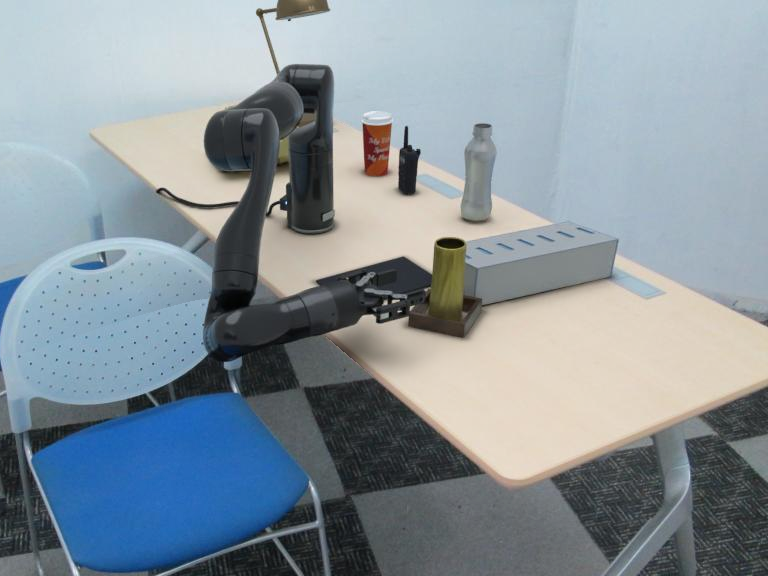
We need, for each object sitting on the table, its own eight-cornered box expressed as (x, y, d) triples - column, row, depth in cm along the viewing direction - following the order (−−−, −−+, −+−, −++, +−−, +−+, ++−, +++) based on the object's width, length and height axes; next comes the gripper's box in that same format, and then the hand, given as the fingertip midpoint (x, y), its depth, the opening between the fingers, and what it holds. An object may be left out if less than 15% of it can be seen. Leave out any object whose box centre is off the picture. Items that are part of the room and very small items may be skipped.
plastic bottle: (490, 225, 182) (500, 131, 171) (458, 223, 184) (465, 130, 172) (491, 213, 188) (500, 121, 176) (460, 212, 189) (467, 120, 177)
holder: (407, 326, 148) (408, 312, 146) (427, 301, 155) (428, 288, 154) (463, 337, 144) (464, 324, 143) (481, 311, 151) (482, 298, 150)
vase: (424, 311, 152) (428, 236, 144) (458, 309, 152) (464, 234, 144) (431, 328, 147) (436, 251, 139) (466, 326, 147) (473, 249, 139)
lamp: (294, 136, 237) (289, -11, 216) (241, 108, 261) (232, -26, 240) (341, 127, 242) (340, -17, 221) (284, 100, 267) (279, -32, 246)
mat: (351, 309, 153) (351, 307, 153) (315, 281, 163) (315, 280, 163) (442, 283, 161) (442, 281, 161) (403, 257, 170) (403, 256, 170)
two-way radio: (395, 188, 202) (397, 124, 193) (412, 186, 203) (415, 122, 194) (405, 196, 197) (407, 131, 189) (422, 193, 199) (426, 128, 190)
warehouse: (564, 247, 172) (570, 212, 168) (611, 276, 161) (618, 239, 156) (433, 275, 163) (435, 237, 159) (473, 307, 152) (477, 268, 148)
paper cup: (370, 180, 207) (371, 121, 199) (354, 170, 213) (355, 113, 205) (398, 173, 210) (400, 116, 202) (381, 165, 216) (382, 108, 208)
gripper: (347, 306, 128) (436, 280, 134) (302, 270, 139) (386, 248, 145) (347, 349, 133) (433, 322, 139) (304, 311, 143) (385, 288, 149)
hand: (409, 284), depth 142 cm, fingers open, 8 cm apart
